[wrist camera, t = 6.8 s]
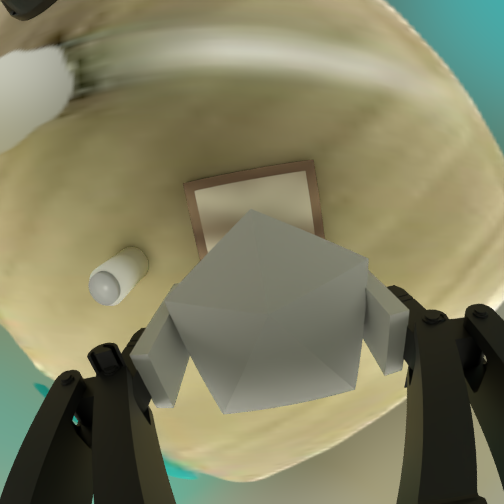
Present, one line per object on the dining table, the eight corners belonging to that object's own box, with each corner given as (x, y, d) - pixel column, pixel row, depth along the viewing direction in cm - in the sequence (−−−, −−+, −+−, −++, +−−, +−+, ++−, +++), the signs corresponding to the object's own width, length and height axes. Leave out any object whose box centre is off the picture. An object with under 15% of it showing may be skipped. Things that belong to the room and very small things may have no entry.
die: (222, 172, 15) (90, 323, 9) (397, 191, 11) (343, 442, 5) (252, 276, 21) (179, 398, 15) (375, 304, 17) (324, 458, 11)
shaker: (114, 250, 30) (80, 273, 23) (143, 243, 30) (112, 266, 23) (124, 281, 31) (93, 310, 24) (152, 276, 31) (126, 307, 24)
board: (186, 182, 28) (182, 183, 27) (310, 159, 27) (313, 159, 26) (212, 296, 32) (210, 302, 30) (325, 277, 31) (329, 282, 30)
